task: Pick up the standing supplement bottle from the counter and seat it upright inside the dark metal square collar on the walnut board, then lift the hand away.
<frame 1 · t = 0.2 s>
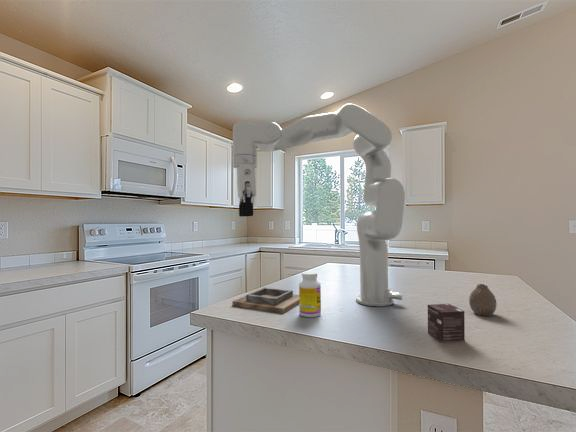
hand: (245, 216, 95), 31 cm above the counter, tool pointing down, fingers open, 9 cm apart
box: (445, 338, 74), on the counter
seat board: (270, 302, 106), on the counter
supplement bottle: (310, 315, 92), on the counter
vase: (482, 314, 90), on the counter
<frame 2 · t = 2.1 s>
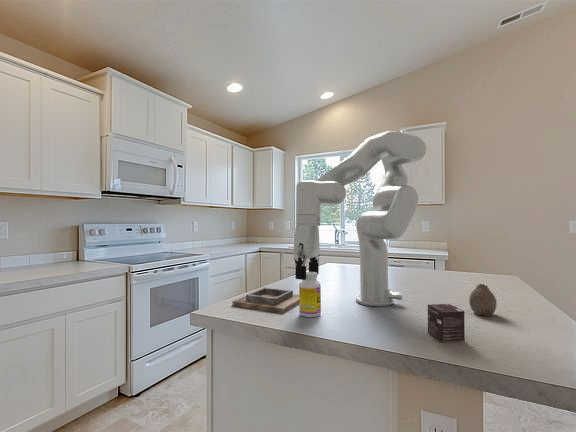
hand: (307, 276, 92), 12 cm above the counter, tool pointing down, fingers open, 9 cm apart
nothing on the counter moved.
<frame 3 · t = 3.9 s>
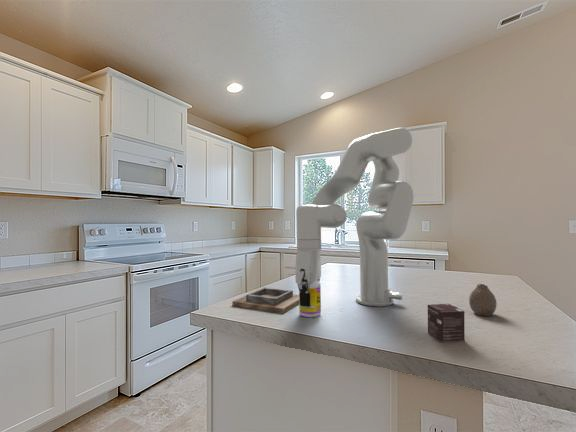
hand: (309, 302, 93), 4 cm above the counter, tool pointing down, fingers closed on supplement bottle, 6 cm apart
supplement bottle: (310, 315, 93), on the counter, touching gripper
everything else where it was.
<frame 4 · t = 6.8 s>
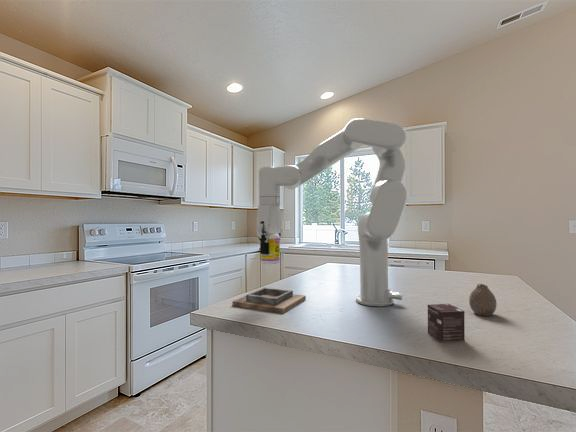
hand: (270, 252, 106), 18 cm above the counter, tool pointing down, fingers closed on supplement bottle, 6 cm apart
supplement bottle: (270, 263, 106), point 14 cm above the counter, touching gripper
everything else where it was.
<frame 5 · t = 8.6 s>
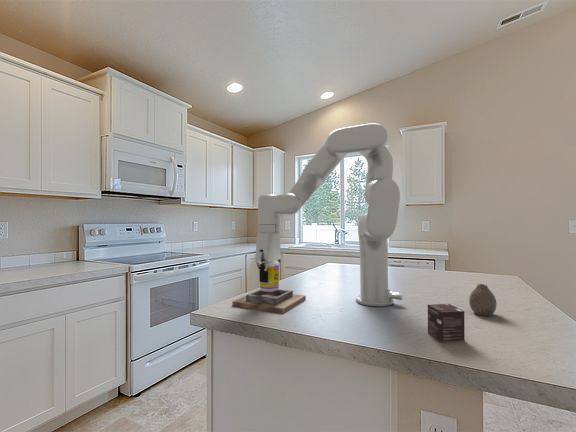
hand: (269, 279, 106), 8 cm above the counter, tool pointing down, fingers closed on supplement bottle, 6 cm apart
supplement bottle: (269, 290, 106), point 4 cm above the counter, touching gripper
everything else where it was.
when the fingers open (6 cm above the counter, at t = 10.0 s): supplement bottle stays where it is, resting on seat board.
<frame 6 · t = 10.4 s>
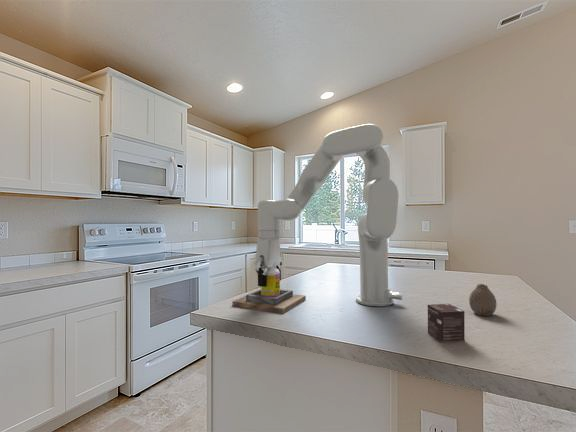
hand: (269, 283, 106), 7 cm above the counter, tool pointing down, fingers open, 9 cm apart
supplement bottle: (270, 298, 106), point 1 cm above the counter, touching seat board
everything else where it was.
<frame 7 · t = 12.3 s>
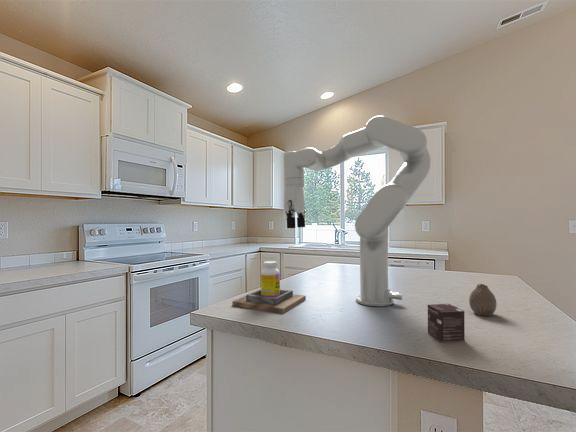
hand: (296, 227, 116), 26 cm above the counter, tool pointing down, fingers open, 9 cm apart
nothing on the counter moved.
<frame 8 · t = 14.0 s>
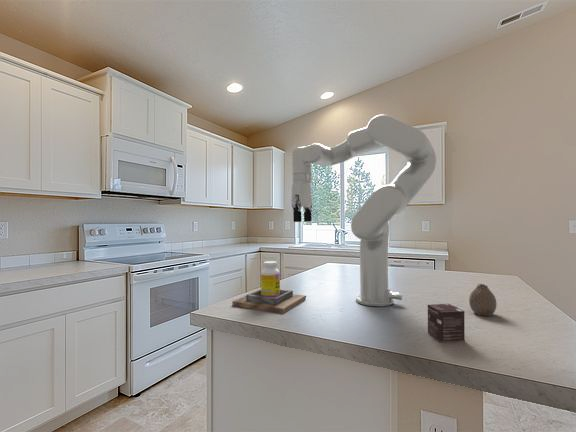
hand: (302, 221, 120), 28 cm above the counter, tool pointing down, fingers open, 9 cm apart
nothing on the counter moved.
at the end: supplement bottle 0.3 cm off-centre on the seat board, point 1.3 cm above the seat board's base; supplement bottle tilted 0°; the gripper is holding nothing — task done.
